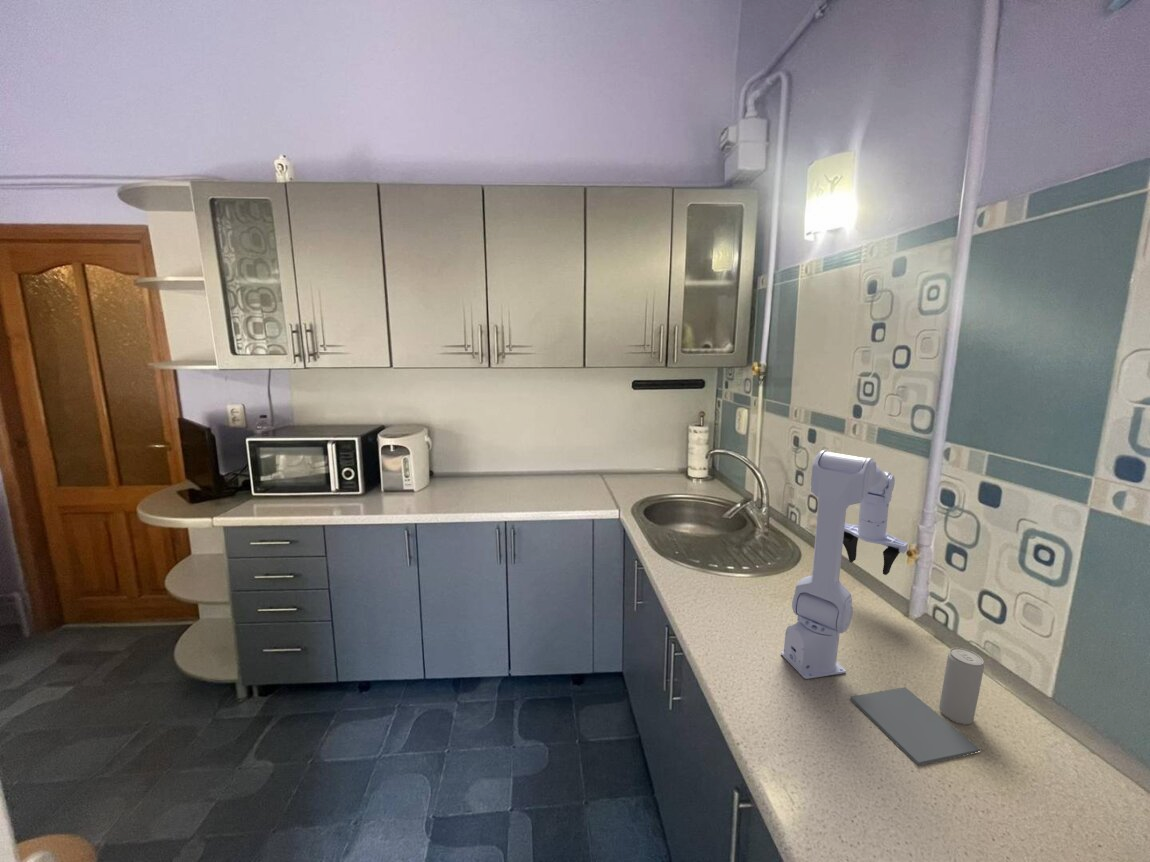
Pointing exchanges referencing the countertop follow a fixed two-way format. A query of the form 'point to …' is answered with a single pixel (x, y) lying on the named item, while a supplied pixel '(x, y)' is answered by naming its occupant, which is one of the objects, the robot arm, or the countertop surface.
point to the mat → (914, 726)
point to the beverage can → (961, 685)
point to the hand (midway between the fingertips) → (868, 566)
